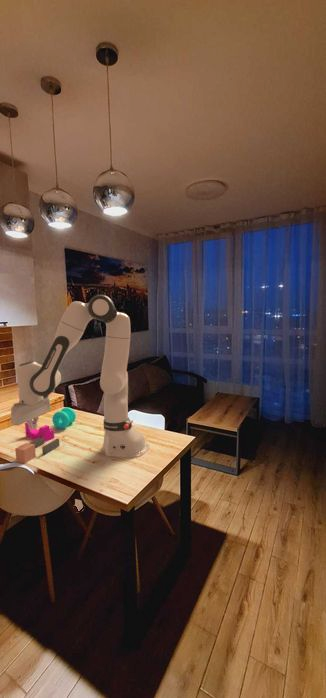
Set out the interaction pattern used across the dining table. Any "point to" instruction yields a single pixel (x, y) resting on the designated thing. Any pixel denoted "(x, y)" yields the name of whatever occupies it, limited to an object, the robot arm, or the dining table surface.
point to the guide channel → (47, 447)
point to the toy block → (39, 432)
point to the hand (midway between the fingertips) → (33, 427)
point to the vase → (78, 504)
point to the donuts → (64, 418)
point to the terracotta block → (25, 452)
